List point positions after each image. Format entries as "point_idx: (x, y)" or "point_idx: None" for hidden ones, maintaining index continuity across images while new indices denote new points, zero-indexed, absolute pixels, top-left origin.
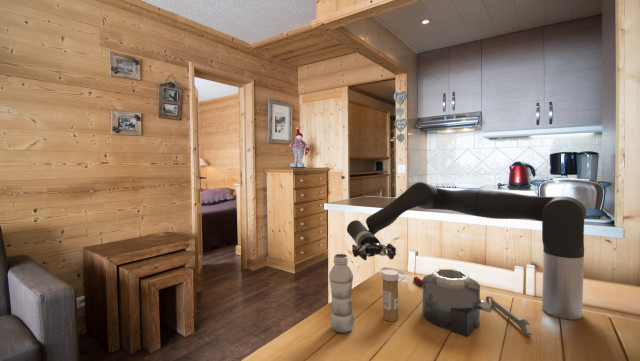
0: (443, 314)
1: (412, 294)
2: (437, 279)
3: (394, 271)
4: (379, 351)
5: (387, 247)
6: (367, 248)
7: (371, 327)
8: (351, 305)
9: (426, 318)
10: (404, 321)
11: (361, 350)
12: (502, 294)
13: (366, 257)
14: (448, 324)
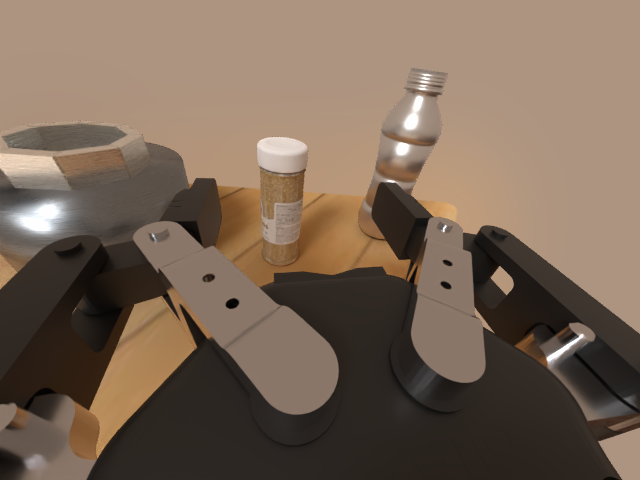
0: None
1: (113, 408)
2: (144, 143)
3: (268, 142)
4: (317, 196)
5: (59, 405)
6: (408, 283)
7: (325, 232)
8: (370, 184)
9: None
10: (254, 243)
11: (340, 199)
12: None
13: (375, 198)
14: None
